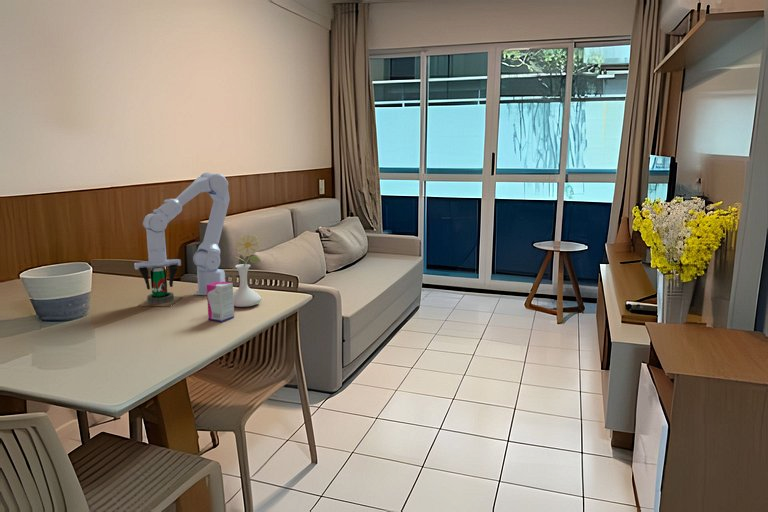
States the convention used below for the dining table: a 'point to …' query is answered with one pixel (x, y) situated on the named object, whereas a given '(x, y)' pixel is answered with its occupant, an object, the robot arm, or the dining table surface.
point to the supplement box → (220, 301)
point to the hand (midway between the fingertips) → (159, 287)
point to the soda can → (158, 282)
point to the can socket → (161, 300)
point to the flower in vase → (244, 293)
